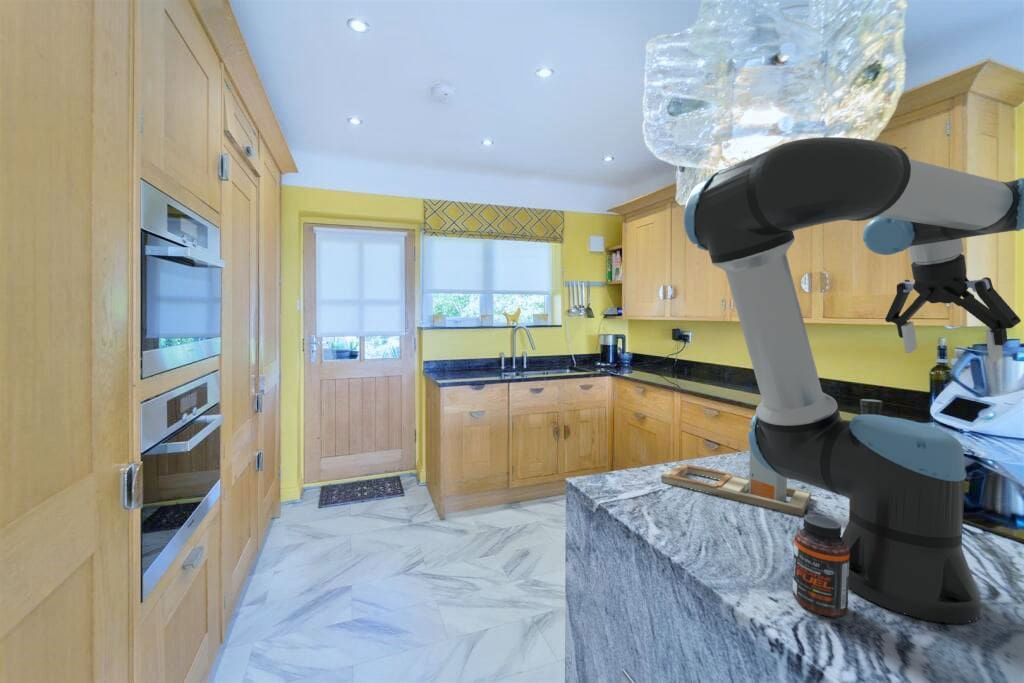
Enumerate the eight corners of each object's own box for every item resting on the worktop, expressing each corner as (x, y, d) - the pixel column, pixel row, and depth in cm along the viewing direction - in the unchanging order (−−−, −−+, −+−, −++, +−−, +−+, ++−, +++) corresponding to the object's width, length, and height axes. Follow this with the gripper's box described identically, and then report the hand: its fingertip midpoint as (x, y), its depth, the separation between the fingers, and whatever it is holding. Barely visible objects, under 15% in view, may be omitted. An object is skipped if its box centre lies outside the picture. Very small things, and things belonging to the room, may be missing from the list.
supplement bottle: (788, 605, 56) (790, 520, 56) (796, 585, 60) (798, 506, 60) (845, 626, 52) (847, 535, 52) (850, 603, 56) (852, 519, 56)
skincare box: (747, 495, 93) (748, 441, 93) (758, 491, 95) (759, 438, 95) (776, 505, 88) (777, 448, 88) (787, 500, 90) (788, 445, 90)
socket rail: (801, 516, 82) (801, 507, 82) (661, 481, 101) (661, 474, 101) (810, 498, 91) (810, 490, 91) (680, 469, 110) (680, 462, 110)
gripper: (1041, 244, 73) (1051, 354, 78) (877, 256, 96) (893, 341, 101) (1016, 259, 71) (1027, 372, 76) (855, 268, 95) (872, 354, 99)
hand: (950, 354), depth 88 cm, fingers open, 13 cm apart
